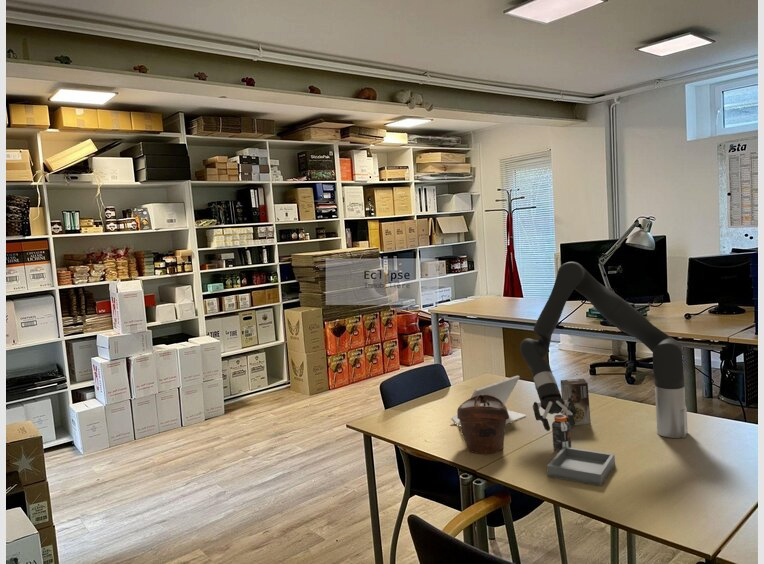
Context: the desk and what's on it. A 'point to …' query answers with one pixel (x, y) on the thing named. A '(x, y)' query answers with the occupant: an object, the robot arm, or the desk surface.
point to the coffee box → (577, 399)
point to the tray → (581, 465)
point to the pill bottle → (561, 432)
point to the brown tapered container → (483, 423)
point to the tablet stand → (498, 396)
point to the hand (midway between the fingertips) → (560, 428)
